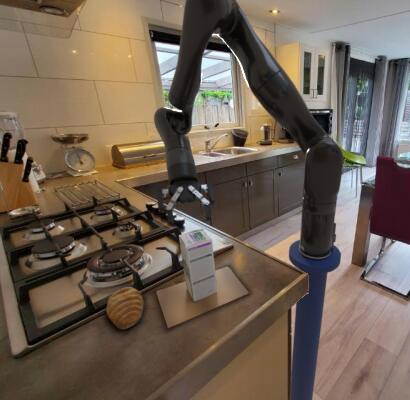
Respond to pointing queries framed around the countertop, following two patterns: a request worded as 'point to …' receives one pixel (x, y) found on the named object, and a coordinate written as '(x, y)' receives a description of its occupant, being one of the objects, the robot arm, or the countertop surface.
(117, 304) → the pastry
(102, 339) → the countertop surface
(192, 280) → the syrup box
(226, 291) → the flat rectangular metal plate
